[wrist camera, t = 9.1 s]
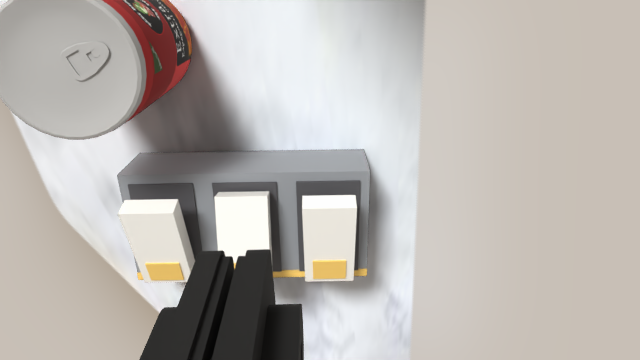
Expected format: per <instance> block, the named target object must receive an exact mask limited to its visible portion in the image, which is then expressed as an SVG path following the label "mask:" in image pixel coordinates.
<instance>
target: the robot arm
mask: <svg viewBox="0 0 640 360" xmlns="http://www.w3.org/2000/svg"><path fill="white" fill-rule="evenodd" d="M140 360H304V344H303V318H302V305H301V304H283V305H276V304H275V293H274V281H273V270H272V259H271V251H270V249H261V250H247V251H246V255H245V256H238V258H237V262H236V265H235V269H234V262H233V258H232V256H225V253H224V251H223V250H222V251H200V252H199V253H198V255H197V258H196V260H195V263H194V265H193V268H192V270H191V273H190V276H189V278H188V281H187V283H186V286H185V288H184V291H183V294H182V296H181V299H180V301H179V304H178V306H177V307H167V308H164V309H162V310H161V312H160V314H159V316H158V318H157V320H156V323H155V325H154V327H153V330H152V332H151V335H150V337H149V339H148V341H147V344H146V346H145V348H144V350H143V353H142V355H141V357H140Z"/></svg>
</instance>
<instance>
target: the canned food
mask: <svg viewBox="0 0 640 360" xmlns="http://www.w3.org/2000/svg"><path fill="white" fill-rule="evenodd" d="M191 53H192V46H191V37H190V33H189V29H188V27H187V25H186V23H185V20H184V18H183V17H182V15H181V14H180V13H179V11H178V10H177V8H176V7H175V6H174V5H173V4H172V3H171V2H170V1H169V0H8V1H7V2H6V3H4V4H3V5H2V6H1V7H0V98H1V99H2V101H3V103H4V104H5V105H6V106H7V107H8V108H9V109H10V110H11V111H12V112H13V113H14V114H15V115H16V116H17V117H19V118H20V119H21V120H22V121H24V122H25V123H26V124H28V125H29V126H31V127H33V128H35V129H37V130H38V131H40V132H43V133H46V134H48V135H51V136H54V137H59V138H64V139H73V140H84V139H90V138H95V137H99V136H101V135H104V134H106V133H109V132H111V131H113V130H115V129H117V128H118V127H120V126H121V125H123V124H124V123H126V122H127V121H129V120H130V119H132V118H133V117H135V116H136V115H137V114H139V113H140V112H141V111H143V110H144V109H145V108H147V107H148V106H149V105H151V104H152V103H153V102H155V101H156V100H157V99H159V98H160V97H161V96H163V95H164V94H165V93H167V92H168V91H169V90H171V89H172V88H173V87H174V86H175V85H176V84H177V83H178V82H179V81H180V80H181V79H182V78H183V76H184V74H185V73H186V71H187V69H188V66H189V63H190V60H191Z"/></svg>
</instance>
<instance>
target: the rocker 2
mask: <svg viewBox="0 0 640 360" xmlns="http://www.w3.org/2000/svg"><path fill="white" fill-rule="evenodd" d="M214 199H215V214H216V229H217V244H218V251H222V250H223V251H224V253H225V256H232V258H233V262H234V269H235V265H236V262H237V258H238V256H245V255H246V251H247V250H261V249H270V251H271V259H272V245H271V220H270V195H269V191H252V192H218V193H217V195H216V196H215V197H214Z"/></svg>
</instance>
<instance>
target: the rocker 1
mask: <svg viewBox="0 0 640 360" xmlns="http://www.w3.org/2000/svg"><path fill="white" fill-rule="evenodd" d="M118 216H119V219H120V221H121V224H122V226H123V229H124V231H125V234H126V236H127V239H128V241H129V244H130V246H131V249H132V251H133V254H134V256H135V259H136V261H137V264H138V266H139V269H140V271H141V274H142V276H143V279H144V282H145V283H161V282H187V281H188V278H189V276H190V273H191V270H192V268H193V265H194V263H195V259H194V255H193V251H192V248H191V244H190V241H189V237H188V233H187V230H186V226H185V222H184V219H183V215H182V211H181V208H180V204H179V201H178V199H155V200H124V203H123V205H122V207H121V209H120V211H119V213H118Z"/></svg>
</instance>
